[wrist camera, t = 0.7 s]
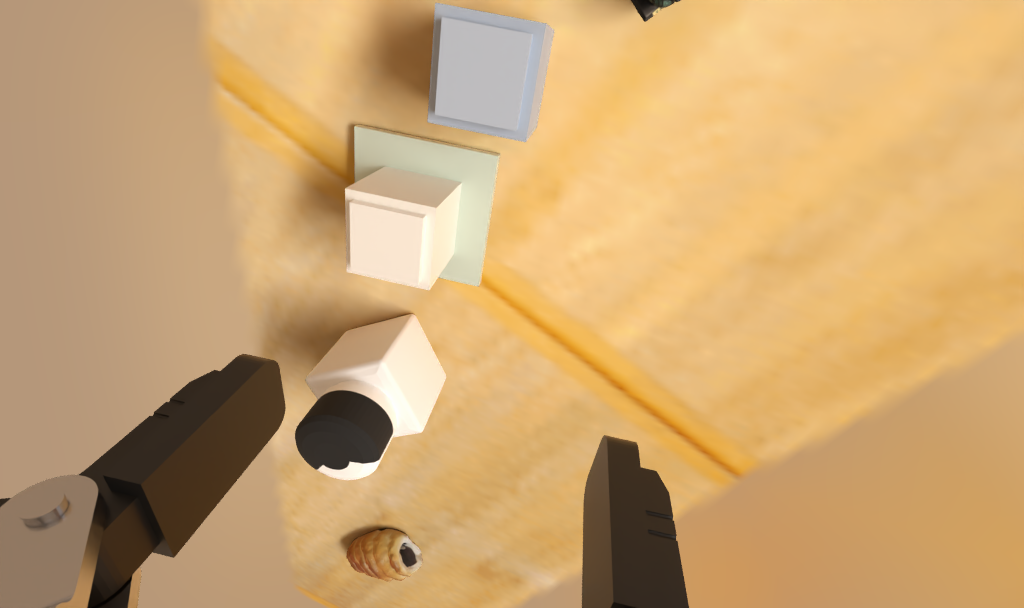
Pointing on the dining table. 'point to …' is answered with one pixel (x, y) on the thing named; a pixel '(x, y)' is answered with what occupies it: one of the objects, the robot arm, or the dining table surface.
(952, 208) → the dining table surface
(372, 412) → the medicine bottle
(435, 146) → the tower base
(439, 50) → the grey block
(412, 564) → the pastry
